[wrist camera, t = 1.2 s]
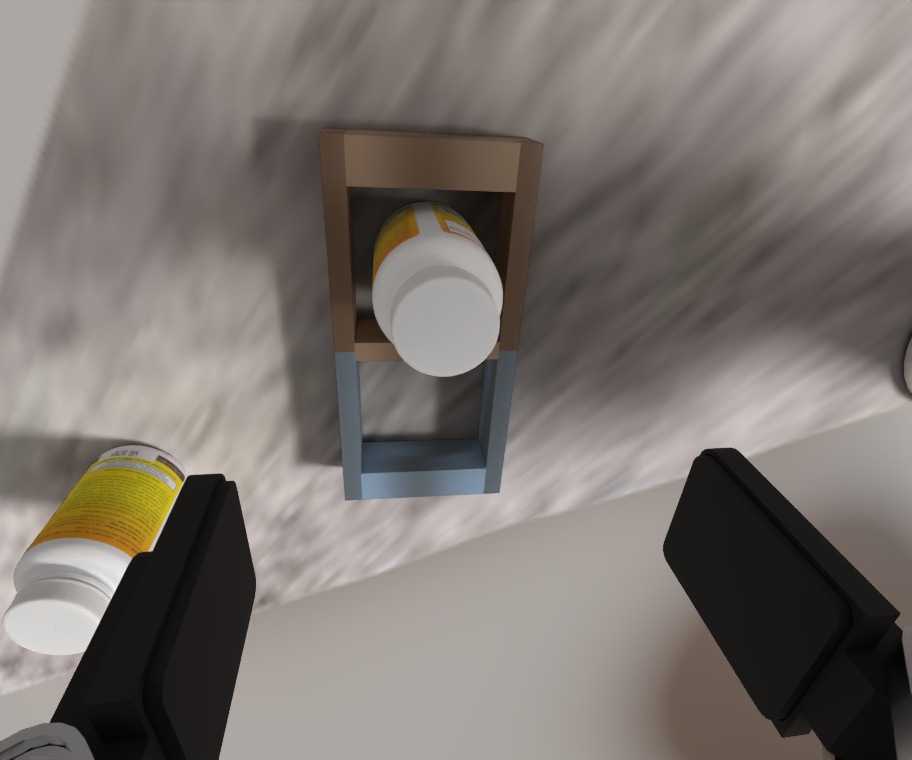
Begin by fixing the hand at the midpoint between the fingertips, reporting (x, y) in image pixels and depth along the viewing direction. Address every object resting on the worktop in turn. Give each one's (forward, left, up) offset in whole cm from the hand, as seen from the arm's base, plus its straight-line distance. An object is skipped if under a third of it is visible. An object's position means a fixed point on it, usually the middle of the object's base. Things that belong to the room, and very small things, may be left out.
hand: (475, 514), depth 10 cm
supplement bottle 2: (0, 0, -19) cm, 19 cm away
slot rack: (0, +4, -19) cm, 19 cm away
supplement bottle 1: (+17, +14, -19) cm, 29 cm away
